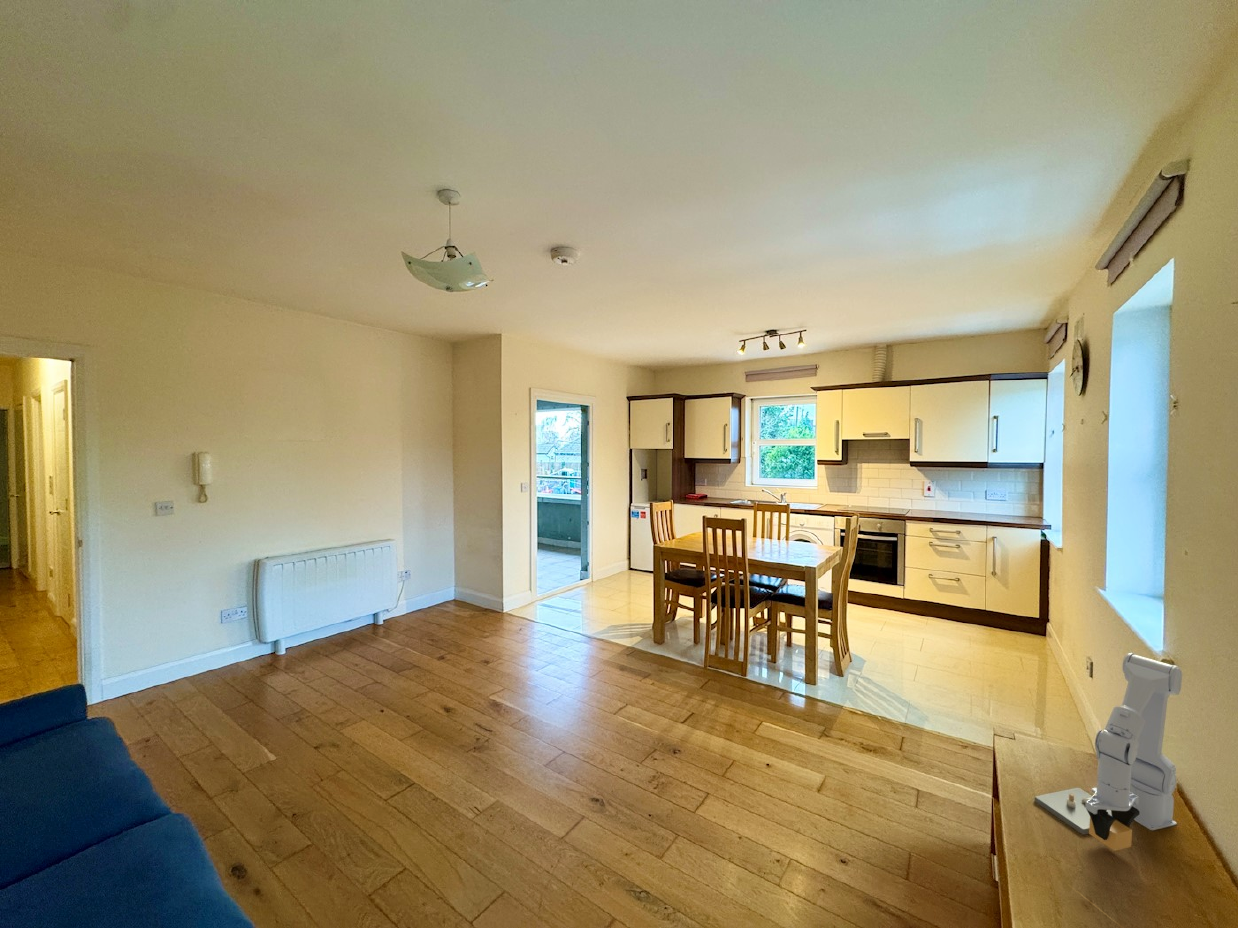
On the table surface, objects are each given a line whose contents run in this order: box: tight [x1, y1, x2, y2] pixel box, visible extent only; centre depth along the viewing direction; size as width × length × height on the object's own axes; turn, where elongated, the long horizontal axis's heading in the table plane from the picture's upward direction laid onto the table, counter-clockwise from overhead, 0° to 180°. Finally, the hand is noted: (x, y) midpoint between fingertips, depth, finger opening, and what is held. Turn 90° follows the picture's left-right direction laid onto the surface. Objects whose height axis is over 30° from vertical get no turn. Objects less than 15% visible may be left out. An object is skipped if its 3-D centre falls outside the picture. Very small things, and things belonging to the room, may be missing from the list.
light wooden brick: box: [1088, 817, 1133, 852], centre depth 124 cm, size 5×5×4 cm
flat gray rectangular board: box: [1034, 787, 1112, 836], centre depth 136 cm, size 16×12×4 cm
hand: (1110, 834), depth 124 cm, fingers closed on light wooden brick, 5 cm apart
